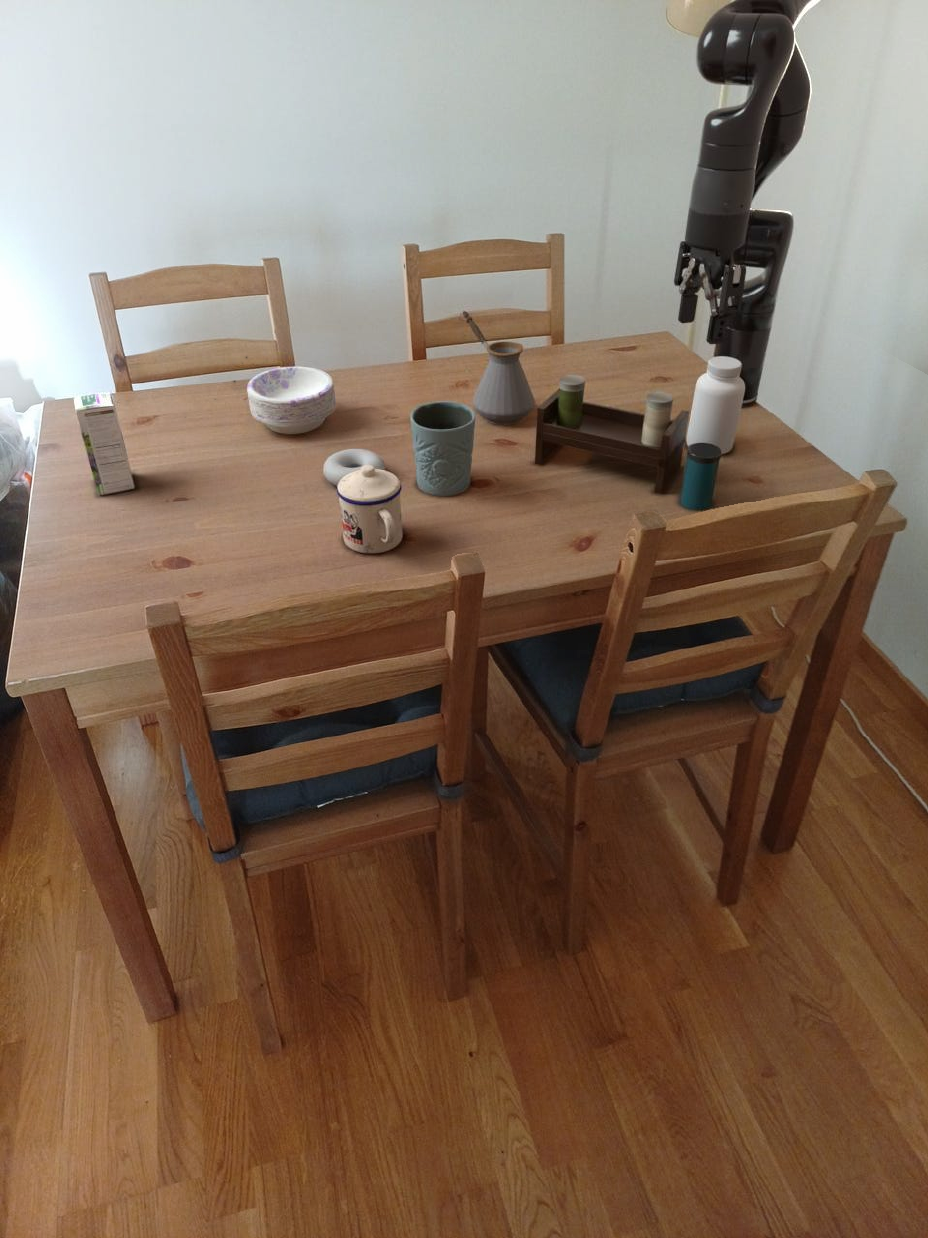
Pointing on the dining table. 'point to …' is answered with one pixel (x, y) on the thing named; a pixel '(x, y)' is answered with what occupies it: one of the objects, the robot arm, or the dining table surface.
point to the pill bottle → (717, 404)
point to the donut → (349, 463)
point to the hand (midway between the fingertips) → (699, 332)
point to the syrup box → (104, 442)
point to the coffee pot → (502, 383)
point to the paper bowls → (291, 398)
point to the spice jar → (700, 476)
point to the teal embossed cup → (443, 446)
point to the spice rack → (612, 429)
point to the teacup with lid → (370, 510)
